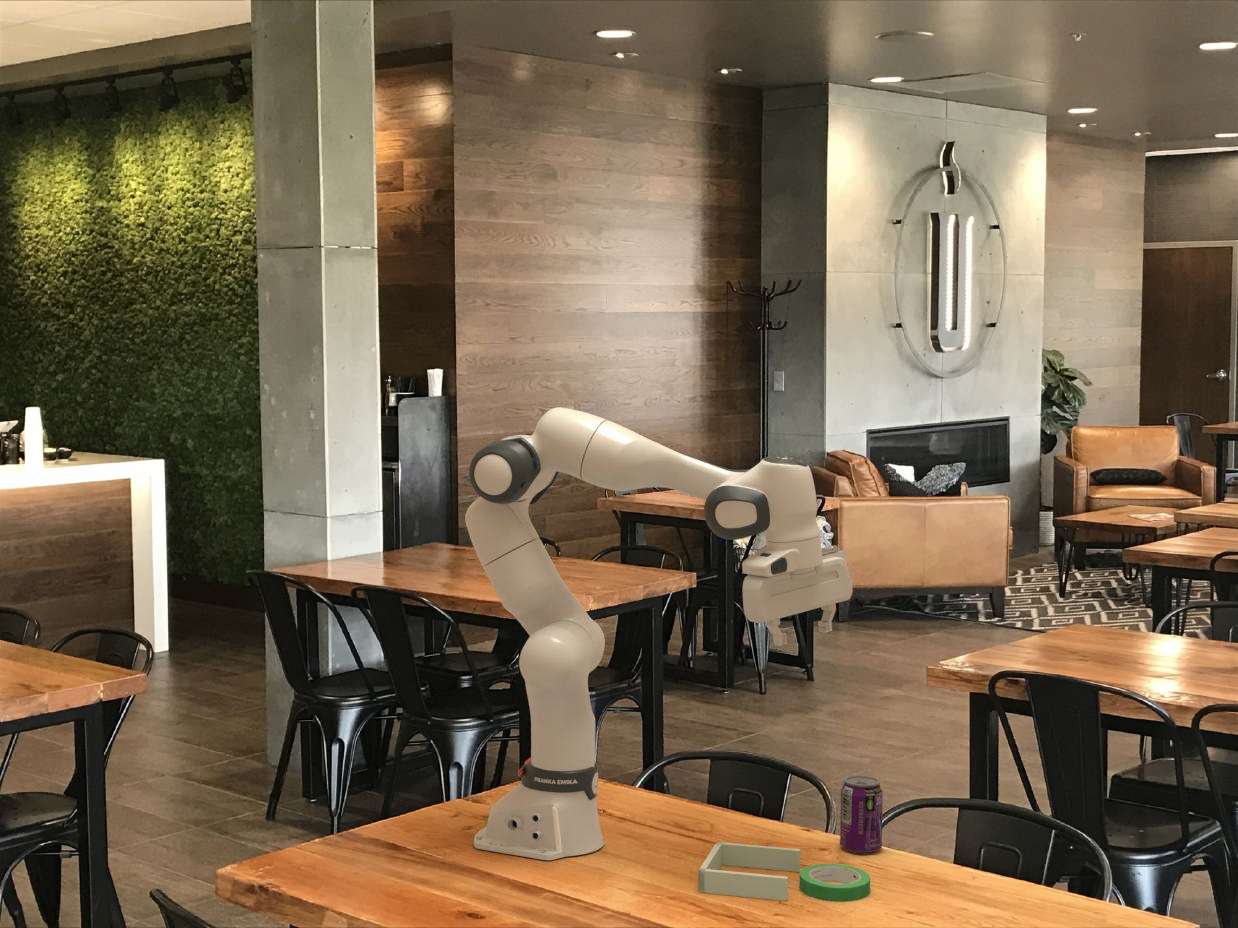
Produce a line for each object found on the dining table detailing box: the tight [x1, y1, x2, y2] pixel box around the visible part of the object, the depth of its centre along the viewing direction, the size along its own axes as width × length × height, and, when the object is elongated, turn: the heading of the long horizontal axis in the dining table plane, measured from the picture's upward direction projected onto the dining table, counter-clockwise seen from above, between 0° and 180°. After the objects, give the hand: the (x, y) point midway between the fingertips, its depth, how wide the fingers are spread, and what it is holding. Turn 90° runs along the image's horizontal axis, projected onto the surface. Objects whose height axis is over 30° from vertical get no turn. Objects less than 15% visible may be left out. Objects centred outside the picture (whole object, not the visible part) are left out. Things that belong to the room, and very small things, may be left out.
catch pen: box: [697, 841, 802, 902], centre depth 234 cm, size 14×15×4 cm
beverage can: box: [839, 775, 884, 855], centre depth 251 cm, size 7×7×12 cm
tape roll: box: [799, 863, 871, 903], centre depth 231 cm, size 11×11×3 cm
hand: (803, 638), depth 238 cm, fingers open, 8 cm apart
